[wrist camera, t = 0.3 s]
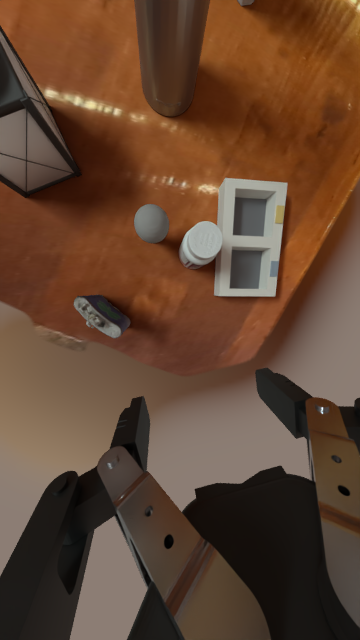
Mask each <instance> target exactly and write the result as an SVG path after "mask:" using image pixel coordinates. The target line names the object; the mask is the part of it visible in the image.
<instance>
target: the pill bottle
mask: <svg viewBox="0 0 360 640" xmlns="http://www.w3.org/2000/svg"><path fill="white" fill-rule="evenodd" d="M222 242H223V237H222V233H221V231H220V229H219V228H218V226H217V225H215V224H214V223H212V222H208V221H203V222H200V223H198V224H196V225H195V226H194V227H193V228H191V229H190V230H189V231H188V232H187V233H186V234H185V236H184V239H183V241H182V243H181V245H180V248H179V259H180V261H181V263H182V264H183V265H184V266H185V267H187V268H190V269H197V268H200V267H202V266H204V265H205V264H208V263H209V262H211V261H212V260H213V259H214V258H215V257H216V255H217V253H218V252H219V251H220V249H221V247H222Z"/></svg>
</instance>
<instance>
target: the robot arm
mask: <svg viewBox="0 0 360 640" xmlns="http://www.w3.org/2000/svg"><path fill="white" fill-rule="evenodd" d="M134 2H135V13H136V24H137V35H138V46H139V58H140V69H141V80H142V88H143V92H144V95H145V98H146V99H147V101H148V103H149V104H150V106H151V107H152V108H153V109H154V110H155V111H157V112H158V113H160V114H162V115H165V116H177V115H180V114H181V113H183V112H184V111H185V110H186V109H187V108H188V107H189V105H190V104H191V102H192V99H193V95H194V89H195V84H196V78H197V72H198V67H199V61H200V56H201V50H202V44H203V38H204V32H205V26H206V21H207V15H208V9H209V3H210V0H134ZM255 374H256V382H257V391H258V394H259V396H260V398H261V399H262V400H263V401H264V403H265V404H266V405H267V406H268V407H269V408H270V409H271V411H272V412H273V413H274V414H275V415H276V416H277V417H278V419H279V420H280V421H281V422H282V423H283V424H284V425H285V426H286V428H287V429H288V430H289V431H290V432H291V433H292V434H293V435H294V437H295V438H296V439H297V438H300V437H305V438H306V439H307V450H308V460H309V470H310V480H309V479H307V478H304V477H301V476H297V475H292V474H286V472H285V471H284V469H283V468H282V466H277V467H273V468H270V469H266V470H263V471H260V472H258V473H257V474H255V475H254V476H252V477H251V478H249V479H248V480H246V481H245V482H244V483H242V484H229V483H228V484H227V483H215V484H212V485H208V486H204V487H201V488H197V489H195V493H196V499H195V500H193V501H192V502H191V503H190V504H188V505H187V506H186V508H185V509H184V510H183V511H182V512H181V511H180V510H179V508H178V507H177V506H176V505H175V504H174V502H173V501H172V500H171V499H170V497H169V496H168V495H167V494H166V492H165V491H164V490H163V489H162V488H161V487H160V485H159V484H158V483H157V481H156V480H155V479H154V478H153V476H152V475H151V474H150V473H149V472H148V471H146V470H147V457H148V444H149V431H150V419H149V414H148V410H147V406H146V402H145V399H144V397H143V396H142V397H137V398H133V399H132V401H131V405H130V407H129V408H125V409H124V411H123V412H122V413H121V415H120V417H119V421H118V424H117V427H116V430H115V433H114V437H113V440H112V443H111V447H110V449H109V450H108V451H107V452H106V453H104V455H103V456H102V457H101V458H100V460H99V462H98V465H97V466H96V467H95V468H93V469H92V470H90V471H88V472H86V473H84V474H82V475H81V476H79V477H78V474H77V473H76V472H75V471H68V472H65V473H63V474H61V475H60V476H58V477H57V478H55V479H54V480H53V481H52V482H51V483H50V484H49V485H48V487H47V488H46V489H45V491H44V493H43V495H42V497H41V499H40V500H39V502H38V504H37V506H36V508H35V510H34V512H33V514H32V516H31V518H30V520H29V522H28V524H27V526H26V528H25V530H24V532H23V533H22V535H21V537H20V539H19V541H18V543H17V545H16V547H15V549H14V551H13V553H12V555H11V557H10V559H9V561H8V563H7V564H6V567H5V568H4V570H3V572H2V574H1V576H0V640H69V639H70V635H71V631H72V626H73V622H74V617H75V613H76V609H77V604H78V600H79V595H80V591H81V586H82V582H83V578H84V573H85V569H86V565H87V560H88V555H89V551H90V547H91V542H92V538H93V534H94V529H95V528H97V527H98V526H100V525H101V524H103V523H104V522H106V521H107V520H109V519H110V518H112V517H113V516H114V517H115V518H116V521H117V523H118V525H119V527H120V529H121V531H122V533H123V535H124V538H125V540H126V542H127V544H128V546H129V549H130V551H131V552H132V555H133V557H134V560H135V562H136V565H137V567H138V569H139V571H140V574H141V576H142V578H143V581H144V583H145V585H146V587H147V589H148V590H147V592H146V595H145V597H144V600H143V602H142V604H141V607H140V609H139V612H138V614H137V617H136V619H135V622H134V624H133V627H132V629H131V631H130V634H129V636H128V639H127V640H360V398H357V399H356V400H355V404H354V407H343V406H342V407H340V406H337V405H335V404H334V403H333V402H331V401H329V400H326V399H323V398H316V397H315V398H314V397H312V396H311V395H310V394H308V393H307V392H305V391H304V390H303V389H301V388H300V387H299V386H297V385H296V384H295V383H293V382H292V381H290V380H289V379H288V378H287V377H285V376H283V375H281V374H278V373H273V372H272V371H271V370H270V369H268V368H263V369H259V370H256V373H255Z"/></svg>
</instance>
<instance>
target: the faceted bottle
mask: <svg viewBox="0 0 360 640" xmlns="http://www.w3.org/2000/svg"><path fill="white" fill-rule="evenodd" d="M237 1H238V2H239V3H240V5H241V6H243V5H251V4H252V3H253V1H254V0H237Z"/></svg>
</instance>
